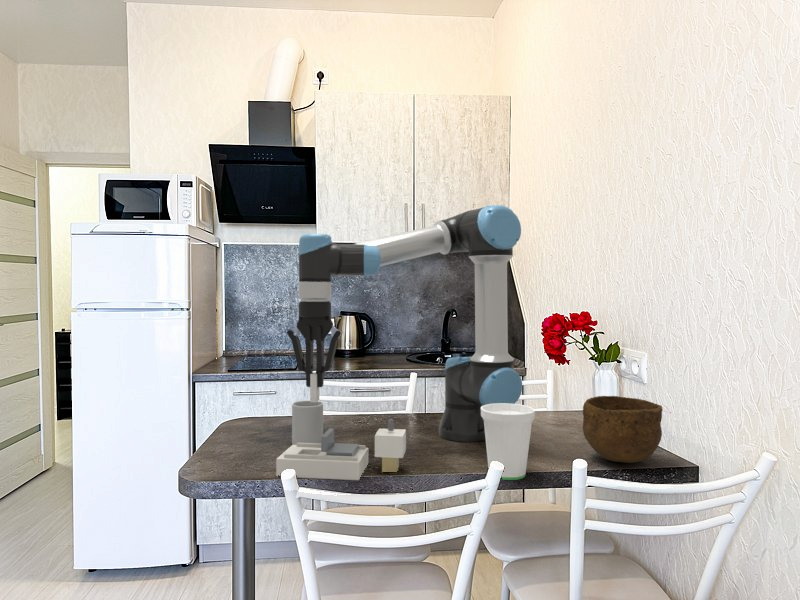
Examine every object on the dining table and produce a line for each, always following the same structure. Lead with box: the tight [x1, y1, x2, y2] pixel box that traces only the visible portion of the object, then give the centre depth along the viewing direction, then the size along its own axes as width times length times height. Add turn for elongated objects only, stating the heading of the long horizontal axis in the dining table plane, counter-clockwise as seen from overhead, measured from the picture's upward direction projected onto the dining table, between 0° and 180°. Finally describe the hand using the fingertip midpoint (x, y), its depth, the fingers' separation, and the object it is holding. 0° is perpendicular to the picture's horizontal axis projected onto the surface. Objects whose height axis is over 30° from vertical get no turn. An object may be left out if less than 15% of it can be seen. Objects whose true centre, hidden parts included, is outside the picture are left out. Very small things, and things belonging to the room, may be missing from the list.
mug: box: [291, 400, 324, 445], centre depth 161 cm, size 12×8×11 cm
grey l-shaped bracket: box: [321, 428, 360, 456], centre depth 136 cm, size 7×8×5 cm
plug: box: [374, 418, 407, 473], centre depth 136 cm, size 6×6×12 cm
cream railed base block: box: [275, 443, 369, 481], centre depth 136 cm, size 19×12×5 cm, turn 83°
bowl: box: [582, 395, 664, 464], centre depth 144 cm, size 19×19×15 cm
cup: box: [481, 403, 536, 481], centre depth 134 cm, size 12×12×15 cm
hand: (314, 400), depth 136 cm, fingers closed
